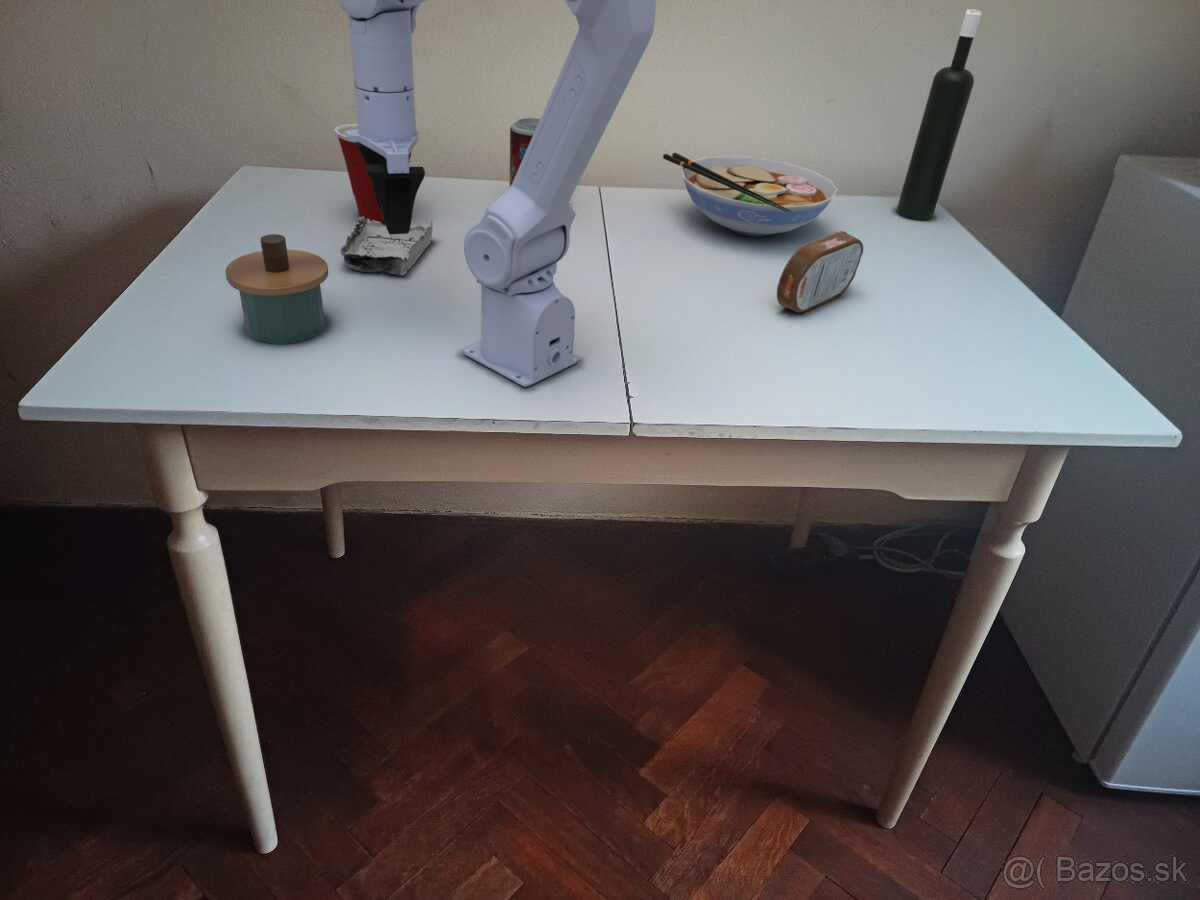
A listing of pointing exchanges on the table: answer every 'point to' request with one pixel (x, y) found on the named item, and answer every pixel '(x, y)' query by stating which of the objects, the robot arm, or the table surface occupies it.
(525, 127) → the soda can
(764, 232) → the ramen bowl
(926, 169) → the wine bottle
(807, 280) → the tin
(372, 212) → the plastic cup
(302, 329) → the cup
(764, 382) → the table surface
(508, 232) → the robot arm
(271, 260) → the knobbed round lid
